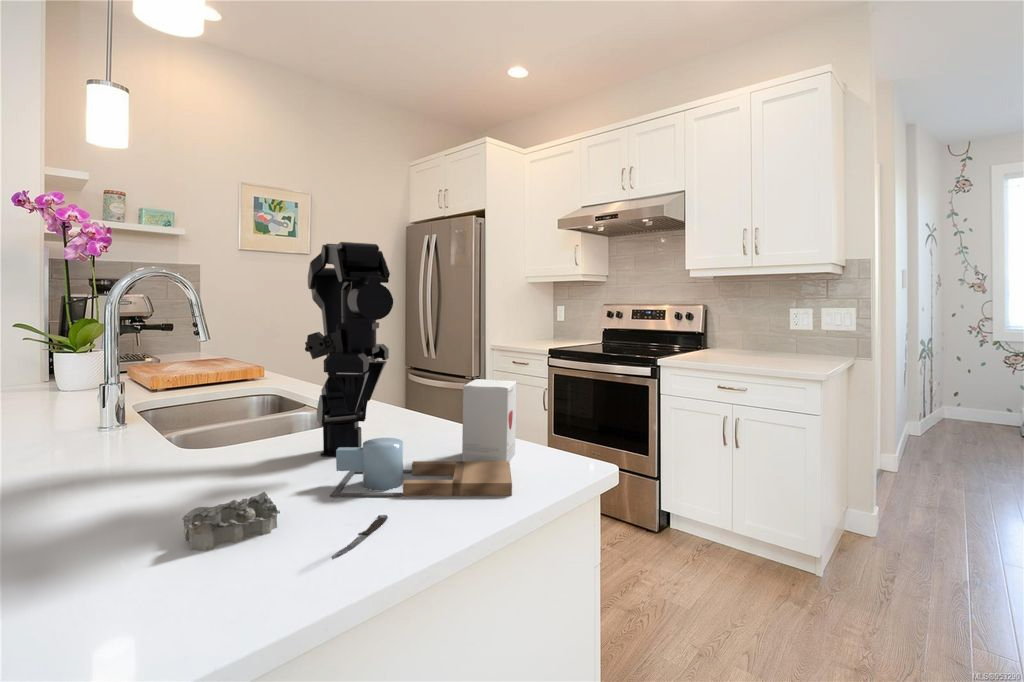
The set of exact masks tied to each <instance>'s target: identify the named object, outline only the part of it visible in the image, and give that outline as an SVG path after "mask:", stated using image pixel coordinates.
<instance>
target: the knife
mask: <svg viewBox="0 0 1024 682" xmlns="http://www.w3.org/2000/svg"><path fill="white" fill-rule="evenodd" d="M387 520H388V515H387V514H378V515H377V519H375V520H374V521H372V523H371V524H370V526H369V527H368V528H366V530H363V531H362V532H358V533H357V535H359V536H357V537H356V538H355V539H354V540H352V541H351V542H350V543H349V544H347V545H346V546H347V547H346V546H345V547H343V548H342V549H340V550H339V552H338V551H337V552H338V553H337V552H336V553H337V554H336V553H334V554H333V555H332V556H331V560H335V559H337V558H339V557H342V556H343V555H345V554H347V553H349V552H350V551H352V550H354V549H355V548H356V547H358V546H359V545H360V544H361V543H362V542H363V541H365V540H366V539H367V538H368V537H370V535H372V534H373V533H374V531H375V532H376V531H377V530H378V529H380V528H381V527H382V526H383V525H384V524H385V523H386V521H387ZM381 525H382V526H381ZM348 551H349V552H348Z"/></svg>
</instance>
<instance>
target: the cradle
mask: <svg viewBox="0 0 1024 682" xmlns="http://www.w3.org/2000/svg"><path fill="white" fill-rule="evenodd" d="M510 463H511V462H510V461H462V460H461V461H457V460H456V461H455V460H454V461H453V460H452V461H451V460H449V461H448V460H447V461H445V460H444V461H442V460H441V461H440V460H439V461H438V460H437V461H436V460H435V461H433V460H432V461H429V460H428V461H427V460H426V461H425V460H424V461H421V460H419V461H415V460H413V461H412V463H411V470H412V473H411V475H412V476H453V478H452V479H403V484H402V496H403V497H405V496H407V497H410V496H418V497H420V496H422V495H423V496H426V495H428V496H430V495H435V496H512V494H513V480H512V471H511V464H510Z"/></svg>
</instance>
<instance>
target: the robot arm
mask: <svg viewBox="0 0 1024 682" xmlns="http://www.w3.org/2000/svg"><path fill="white" fill-rule="evenodd" d="M327 265H332V266H333V267H326V266H327ZM390 275H391V273H390V270H389V268H388V264H387V262H386V259H385V257H384V254H383V251H382V250H380V247H379V245H378V244H377V243H365V242H350V241H349V242H348V241H347V242H346V241H340V242H338V243H326V244H322V246H321V252H320V253H319V254H317V256H316V257H314V258H313V259H311V261H310V262H309V267H308V273H307V287H308V290H310V291H311V299H312V301H313V302H314V303H315V304H316V305H317V306H318V308H319V309H320V310H321V315H322V316H321V317H322V326H323V327H322V328H323V334H322V333H321V332H320V331H317V332H313V333H309V334H308V335H307V337H306V338H307V339H306V341H305V342H304V343H305V347H304V350H305V352H306V353H308V352H309V355H310V356H311V359H312V360H316V359H319V358H321V357H324V356H326V358H324V360H323V373H326V374H327V375H328V376H327V379H326V381H325V382H324V384H323V386H322V388H321V394H320V395H319V398H318V403H317V408H316V420H317V423H318V424H319V425H320V426H321V427H322V433H323V434H322V437H323V439H322V442H323V443H322V445H323V446H322V447H323V450H322V451H320V456H330V457H331V456H335V457H336V450H337V449H338V448H339V447H363V443H362V427H361V426H359V422H362V423H363V422H365V421H366V418H367V417H366V416H367V406H368V402H369V401H370V400H371V398H372V396H373V394H374V392H375V389H376V386H377V384H378V382H379V380H380V378H381V376H382V373H383V370H384V369H385V367H386V364H387V360H388V359H389V358H390V356H389V355H390V353H389V350H390V349H389V347H388V346H386V345H385V344H384V343H377V329H379V328H380V322H379V320H382V319H384V318H386V317H387V316H388V315H389V314H391V311H392V309H393V307H394V298H393V295H392V293H391V290H390V289H389V288H387V287H386V286H385V285H384V284H388V283H389V281H390V279H389V278H390ZM380 359H381V360H380Z"/></svg>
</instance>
